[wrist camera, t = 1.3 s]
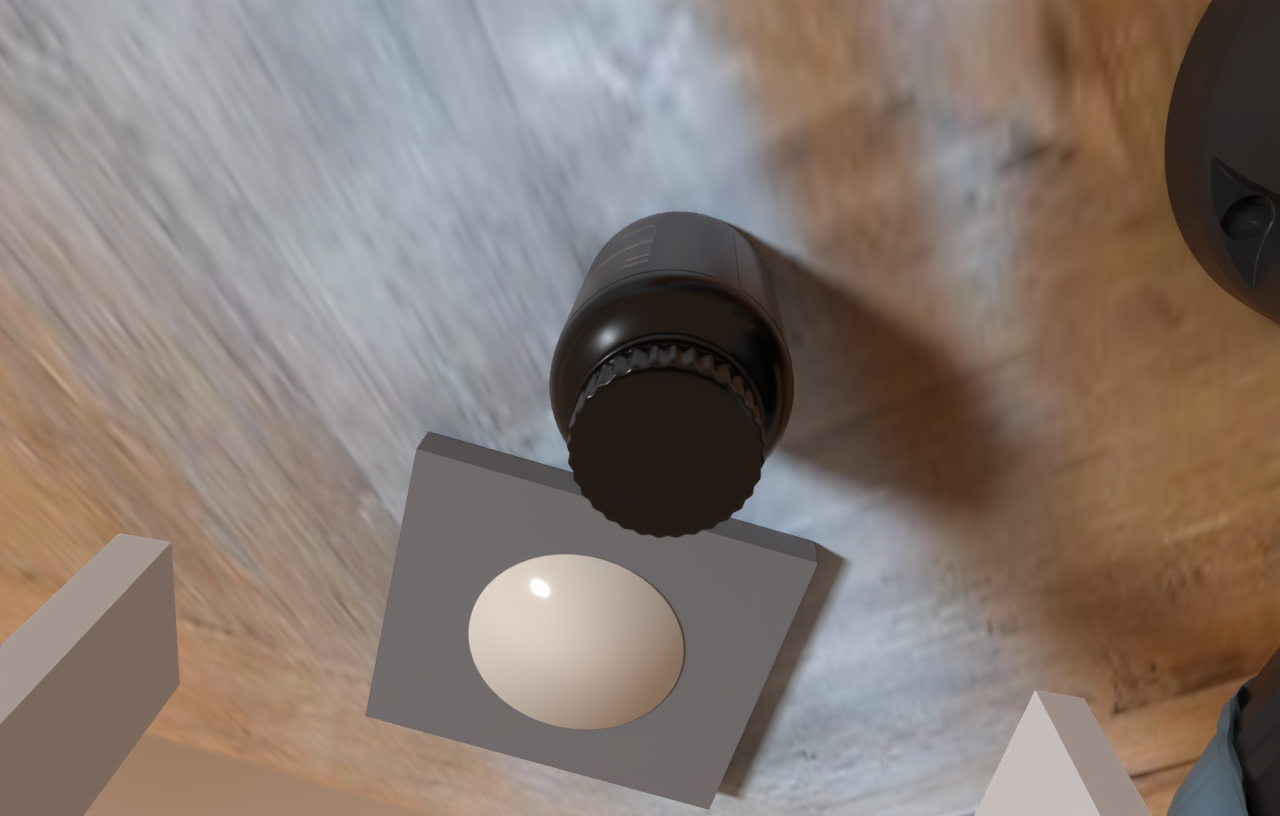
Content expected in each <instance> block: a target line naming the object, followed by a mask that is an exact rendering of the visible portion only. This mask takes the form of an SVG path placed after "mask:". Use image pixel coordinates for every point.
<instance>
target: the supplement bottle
mask: <svg viewBox="0 0 1280 816" xmlns="http://www.w3.org/2000/svg"><path fill="white" fill-rule="evenodd" d="M549 387H550V400H551V406H552V410H553V414H554V418H555V421H556V424H557V426H558V429H559V431H560V433H561V435H562V437H563V439H564V440H565V442H566V444H567V448H568V451H569V453H570V454H569V459H568V464H569V465H570V467H571V469H572V470H573V480H574V481H575V482H576V483H577V484H578V485H579V486H580V488H581V494H582V496H584V497H585V498H586V499H588V500H589V501H590V503H591V505H592V507H593V509H595V510H597V511H599V512H601V513H603V515H604V517H605V518H606V519H607V520H609V521H612V522H616V523H617V524H619V526H620V527H622V528H623V529H627V530H633V531H635V532H636V533H638V534H640V535H652V536H654V537H657V538H662V537H666V536H670V537H674V538H679V537H681V536H683V535H686V534H687V535H696V534H698V533H699V532H700V531H702V530H709V529H713V528H714V527H715V526H716V525H717V524H718V523H720V522H724V521H727V520H729V518H730V517H731V515H732V514H733V513H734V512H736V511H738V510H740V509H742V507H743V505H744V502H745V500H747V499H748V498H749V497H751V496H752V495H753V491H754V486H755V485H756V484H757V483H758V481H759V480H760V478H761V468H762V466H763V464H764V462H765V461H766V460H767V459H768V457H769V456H770V455H771V454H772V452H773V451H774V449H775V448H776V447H777V445H778V443H779V442H780V440H781V438H782V436H783V434H784V432H785V429H786V427H787V425H788V421H789V418H790V415H791V411H792V406H793V397H794V377H793V369H792V362H791V357H790V353H789V349H788V345H787V341H786V337H785V333H784V329H783V325H782V321H781V317H780V312H779V308H778V304H777V300H776V296H775V292H774V288H773V285H772V282H771V278H770V276H769V273H768V270H767V268H766V266H765V264H764V262H763V260H762V259H761V257H760V255H759V254H758V252H757V251H756V249H755V248H754V247H753V246H752V244H751V243H750V242H749V241H748V240H747V239H746V238H745V237H744V236H743V235H741V234H740V233H739V232H738V231H736V230H735V229H734V228H732V227H731V226H729V225H727V224H725V223H724V222H722V221H719V220H717V219H715V218H712V217H709V216H706V215H702V214H698V213H692V212H665V213H659V214H655V215H651V216H648V217H645V218H642V219H640V220H638V221H636V222H634V223H632V224H630V225H628V226H627V227H625V228H624V229H622V230H621V231H619V232H618V233H617V234H616V235H615V236H613V237H612V238H611V239H610V240H609V241H608V242H607V244H606V245H605V246H604V247H603V248H602V250H601V251H600V252H599V254H598V255H597V257H596V258H595V260H594V262H593V264H592V266H591V268H590V270H589V272H588V274H587V276H586V278H585V280H584V283H583V285H582V287H581V290H580V292H579V294H578V297H577V299H576V301H575V303H574V306H573V308H572V310H571V313H570V315H569V317H568V319H567V322H566V324H565V326H564V329H563V331H562V333H561V336H560V338H559V341H558V343H557V346H556V349H555V353H554V356H553V360H552V365H551V371H550V382H549Z"/></svg>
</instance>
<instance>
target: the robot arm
mask: <svg viewBox="0 0 1280 816" xmlns="http://www.w3.org/2000/svg"><path fill="white" fill-rule="evenodd" d="M1165 171H1166V181H1167V187H1168V194H1169V198H1170V202H1171V206H1172V210H1173V213H1174V216H1175V219H1176V222H1177V225H1178V227H1179V229H1180V231H1181V234H1182V236H1183V238H1184V240H1185V242H1186V243H1187V245H1188V247H1189V249H1190V251H1191V252H1192V254H1193V255H1194V257H1195V258H1196V260H1197V261H1198V262H1199V264H1200V265H1201V266H1202V267H1203V269H1204V270H1205V271H1206V272H1207V273H1208V275H1209V276H1210V277H1211V278H1212V279H1213V280H1214V281H1215V282H1216V283H1217V284H1218V285H1219V286H1221V287H1222V288H1223V289H1224V290H1225V291H1227V292H1228V293H1229V294H1230V295H1232V296H1233V297H1235V298H1236V299H1238V300H1239V301H1241V302H1242V303H1243V304H1245V305H1247V306H1249V307H1251V308H1252V309H1254V310H1256V311H1258V312H1260V313H1261V314H1263V315H1265V316H1267V317H1269V318H1271V319H1273V320H1274V321H1276V322H1278V323H1280V0H1212V1H1211V3H1210V5H1209V6H1208V8H1207V10H1206V12H1205V13H1204V15H1203V17H1202V19H1201V21H1200V23H1199V24H1198V26H1197V29H1196V31H1195V33H1194V35H1193V37H1192V39H1191V41H1190V43H1189V46H1188V48H1187V51H1186V53H1185V56H1184V58H1183V61H1182V63H1181V66H1180V69H1179V73H1178V76H1177V79H1176V82H1175V85H1174V89H1173V93H1172V98H1171V102H1170V107H1169V113H1168V118H1167V126H1166V136H1165ZM179 684H180V683H179V666H178V648H177V631H176V614H175V596H174V579H173V562H172V545H171V542H168V541H162V540H157V539H151V538H145V537H139V536H133V535H127V534H121V533H118V534H117V535H116V536H115V537H114V538H113V539H112V540H111V541H110V542H109V543H108V544H107V545H106V546H105V547H104V548H103V549H102V550H100V551H99V552H98V553H97V554H96V555H95V556H94V557H93V558H92V559H91V560H90V561H89V562H88V563H87V564H86V565H85V566H84V567H83V568H82V569H80V570H79V571H78V572H77V573H76V574H75V575H74V576H73V577H72V578H71V579H70V580H69V581H68V582H67V583H66V584H65V585H64V586H63V587H61V588H60V589H59V590H58V591H57V592H56V593H55V594H54V595H53V596H52V597H51V598H50V599H49V600H48V601H47V602H46V603H45V604H44V605H42V606H41V607H40V608H39V609H38V610H37V611H36V612H35V613H34V614H33V615H32V616H31V617H30V618H29V619H28V620H27V621H26V622H25V623H24V624H22V625H21V626H20V627H19V628H18V629H17V630H16V631H15V632H14V633H13V634H12V635H11V636H10V637H9V638H8V639H7V640H6V641H5V642H3V643H2V644H1V645H0V816H84V814H85V813H86V811H87V810H88V809H89V807H90V806H91V805H92V803H93V802H94V801H95V799H96V798H97V796H98V795H99V794H100V792H101V791H102V790H103V788H104V787H105V786H106V784H107V783H108V781H109V780H110V779H111V777H112V776H113V775H114V773H115V772H116V770H117V769H118V767H119V766H120V765H121V763H122V762H123V761H124V760H125V758H126V757H127V755H128V754H129V753H130V751H131V750H132V749H133V747H134V746H135V745H136V743H137V742H138V740H139V739H140V738H141V736H142V735H143V734H144V732H145V731H146V730H147V728H148V727H149V725H150V724H151V723H152V721H153V720H154V719H155V717H156V716H157V714H158V713H159V712H160V710H161V709H162V708H163V706H164V705H165V704H166V702H167V701H168V699H169V698H170V697H171V695H172V694H173V693H174V691H175V690H176V689H177V687H178V686H179ZM974 816H1152V815H1151V813H1150V811H1149V810H1148V808H1147V806H1146V804H1145V803H1144V801H1143V799H1142V798H1141V796H1140V794H1139V792H1138V791H1137V789H1136V787H1135V785H1134V784H1133V782H1132V780H1131V779H1130V777H1129V775H1128V773H1127V772H1126V770H1125V768H1124V767H1123V765H1122V763H1121V761H1120V760H1119V758H1118V756H1117V754H1116V753H1115V751H1114V749H1113V748H1112V746H1111V744H1110V742H1109V741H1108V739H1107V737H1106V735H1105V734H1104V732H1103V730H1102V729H1101V727H1100V725H1099V723H1098V722H1097V720H1096V718H1095V717H1094V715H1093V713H1092V711H1091V710H1090V708H1089V706H1088V704H1087V703H1086V701H1085V699H1084V698H1080V697H1075V696H1069V695H1063V694H1057V693H1051V692H1045V691H1040V690H1035V692H1034V694H1033V696H1032V698H1031V700H1030V702H1029V704H1028V706H1027V708H1026V710H1025V712H1024V714H1023V716H1022V718H1021V720H1020V722H1019V725H1018V727H1017V729H1016V731H1015V733H1014V735H1013V737H1012V739H1011V741H1010V743H1009V745H1008V747H1007V749H1006V751H1005V753H1004V756H1003V758H1002V760H1001V762H1000V764H999V766H998V768H997V770H996V772H995V774H994V776H993V778H992V780H991V782H990V784H989V786H988V789H987V791H986V793H985V795H984V797H983V799H982V801H981V803H980V805H979V807H978V809H977V811H976V813H975V815H974ZM1167 816H1280V647H1279V648H1278V649H1277V651H1276V652H1275V653H1274V654H1273V656H1272V657H1271V658H1270V660H1269V661H1268V662H1267V663H1266V665H1265V666H1264V667H1263V668H1262V670H1261V671H1260V672H1259V674H1258V675H1257V676H1255V677H1254V678H1252V679H1250V680H1248V681H1247V682H1246V683H1245V684H1243V685H1242V686H1241V687H1239V688H1238V690H1237V692H1236V693H1235V695H1234V697H1233V698H1231V699H1230V700H1229V701H1228V702H1227V703H1226V704H1225V705H1223V708H1222V711H1221V714H1220V718H1219V721H1218V725H1217V732H1216V734H1215V735H1214V737H1213V738H1212V740H1211V741H1210V743H1209V744H1208V746H1207V747H1206V749H1205V750H1204V752H1203V753H1202V755H1201V756H1200V758H1199V759H1198V761H1197V762H1196V764H1195V765H1194V767H1193V768H1192V770H1191V771H1190V772H1189V774H1188V775H1187V777H1186V778H1185V780H1184V781H1183V783H1182V784H1181V786H1180V787H1179V789H1178V790H1177V792H1176V793H1175V795H1174V798H1173V800H1172V802H1171V805H1170V807H1169V809H1168V812H1167Z"/></svg>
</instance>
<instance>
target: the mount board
mask: <svg viewBox="0 0 1280 816" xmlns="http://www.w3.org/2000/svg"><path fill="white" fill-rule="evenodd" d="M817 564H818V561H817V555H816V550H815V544H814V542H813V541H809V540H806V539H802V538H799V537H795V536H792V535H788V534H785V533H781V532H778V531H774V530H771V529H767V528H764V527H760V526H757V525H753V524H750V523H746V522H743V521H739V520H736V519H732V518H729V520H727V521H724V522H720V523H718V524H717V525H716V526H715V527H714V528H713V529H709V530H702V531H700V532H699V533H698V534H696V535H687V534H686V535H683V536H681V537H679V538H674V537H670V536H666V537H662V538H657V537H654V536H652V535H640V534H638V533H636V532H635V531H633V530H627V529H623V528H622V527H620V526H619V524H617V523H616V522H612V521H609V520H607V519H606V518H605V517H604V515H603V513H601V512H599V511H597V510H595V509H593V507H592V505H591V503H590V501H589V500H588V499H586V498H585V497H584V496H582V494H581V488H580V486H579V485H578V484H577V483H576V482H575V481H574V480H573V473H571V472H568V471H564V470H561V469H557V468H554V467H550V466H547V465H543V464H539V463H536V462H532V461H529V460H525V459H522V458H518V457H515V456H511V455H508V454H504V453H501V452H497V451H494V450H490V449H487V448H483V447H480V446H476V445H473V444H469V443H466V442H462V441H459V440H455V439H452V438H448V437H445V436H441V435H438V434H434V433H431V432H428V433H427V435H426V436H425V437H424V439H423V440H422V442H421V443H420V445H419V446H418V447H417V449H416V454H415V459H414V464H413V470H412V475H411V480H410V485H409V491H408V496H407V501H406V506H405V512H404V517H403V522H402V527H401V533H400V538H399V543H398V548H397V554H396V559H395V564H394V569H393V574H392V580H391V585H390V590H389V595H388V601H387V606H386V611H385V616H384V622H383V627H382V632H381V637H380V643H379V648H378V653H377V658H376V664H375V669H374V674H373V679H372V685H371V690H370V695H369V700H368V705H367V711H366V716H367V717H371V718H375V719H378V720H382V721H386V722H389V723H393V724H397V725H400V726H404V727H408V728H411V729H415V730H419V731H422V732H426V733H430V734H433V735H437V736H441V737H444V738H448V739H452V740H455V741H459V742H463V743H466V744H470V745H474V746H477V747H481V748H485V749H488V750H492V751H496V752H499V753H503V754H507V755H510V756H514V757H518V758H521V759H525V760H529V761H532V762H536V763H540V764H543V765H547V766H551V767H554V768H558V769H562V770H566V771H569V772H573V773H577V774H580V775H584V776H588V777H591V778H595V779H599V780H602V781H606V782H610V783H613V784H617V785H621V786H624V787H628V788H632V789H635V790H639V791H643V792H646V793H650V794H654V795H657V796H661V797H665V798H668V799H672V800H676V801H679V802H683V803H687V804H690V805H694V806H698V807H701V808H705V809H710V806H711V804H712V802H713V800H714V797H715V795H716V793H717V790H718V788H719V786H720V784H721V781H722V779H723V777H724V775H725V772H726V770H727V768H728V766H729V763H730V761H731V759H732V756H733V754H734V752H735V750H736V747H737V745H738V743H739V741H740V738H741V736H742V734H743V732H744V729H745V727H746V725H747V723H748V720H749V718H750V716H751V713H752V711H753V709H754V707H755V704H756V702H757V700H758V698H759V695H760V693H761V691H762V689H763V686H764V684H765V682H766V680H767V677H768V675H769V673H770V670H771V668H772V666H773V664H774V661H775V659H776V657H777V655H778V652H779V650H780V648H781V646H782V643H783V641H784V639H785V637H786V634H787V632H788V630H789V627H790V625H791V623H792V621H793V618H794V616H795V614H796V612H797V609H798V607H799V605H800V603H801V600H802V598H803V596H804V594H805V591H806V589H807V587H808V584H809V582H810V580H811V578H812V575H813V573H814V571H815V569H816V566H817Z"/></svg>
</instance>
